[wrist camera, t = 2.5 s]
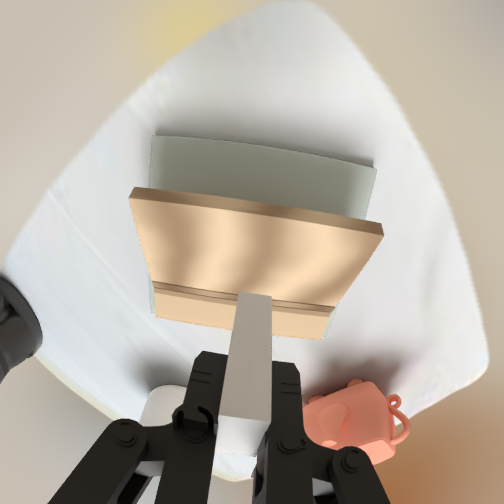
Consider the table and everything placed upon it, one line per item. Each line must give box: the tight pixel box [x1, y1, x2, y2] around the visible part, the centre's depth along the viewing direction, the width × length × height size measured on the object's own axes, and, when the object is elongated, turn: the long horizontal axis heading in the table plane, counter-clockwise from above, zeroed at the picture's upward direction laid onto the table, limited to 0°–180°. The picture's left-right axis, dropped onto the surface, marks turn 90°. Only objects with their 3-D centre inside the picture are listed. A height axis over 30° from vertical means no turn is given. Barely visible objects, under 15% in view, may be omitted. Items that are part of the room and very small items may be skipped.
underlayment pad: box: [149, 135, 377, 340], centre depth 27 cm, size 20×19×2 cm
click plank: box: [129, 187, 384, 312], centre depth 24 cm, size 18×12×1 cm, turn 82°
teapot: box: [302, 379, 411, 471], centre depth 33 cm, size 15×17×13 cm
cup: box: [139, 385, 187, 426], centre depth 36 cm, size 10×10×10 cm
